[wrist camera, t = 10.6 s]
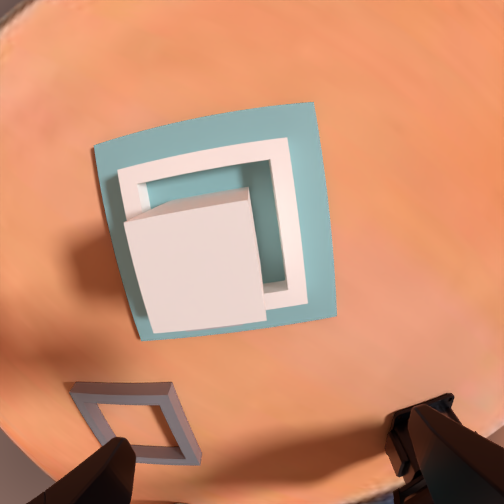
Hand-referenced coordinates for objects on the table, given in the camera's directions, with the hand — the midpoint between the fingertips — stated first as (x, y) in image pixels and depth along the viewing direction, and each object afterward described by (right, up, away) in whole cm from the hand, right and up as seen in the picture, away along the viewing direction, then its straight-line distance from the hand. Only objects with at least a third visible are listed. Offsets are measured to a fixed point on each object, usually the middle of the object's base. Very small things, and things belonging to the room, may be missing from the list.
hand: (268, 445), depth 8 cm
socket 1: (-10, -9, +14) cm, 20 cm away
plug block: (-3, +7, +10) cm, 12 cm away
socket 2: (-3, +7, +10) cm, 12 cm away
